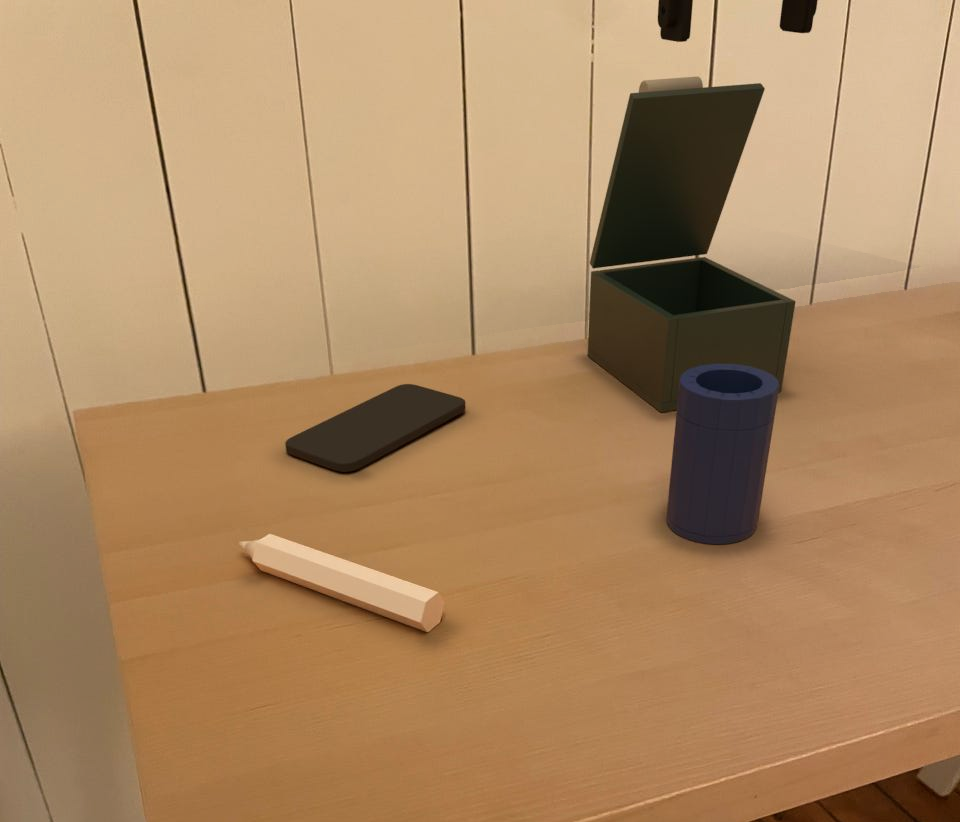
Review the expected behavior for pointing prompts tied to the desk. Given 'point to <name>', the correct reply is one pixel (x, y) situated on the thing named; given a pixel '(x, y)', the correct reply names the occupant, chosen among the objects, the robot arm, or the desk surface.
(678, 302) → the chest
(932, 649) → the desk surface
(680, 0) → the robot arm
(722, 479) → the jar
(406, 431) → the phone
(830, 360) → the desk surface
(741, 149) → the lid
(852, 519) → the desk surface
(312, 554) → the wooden pencil
